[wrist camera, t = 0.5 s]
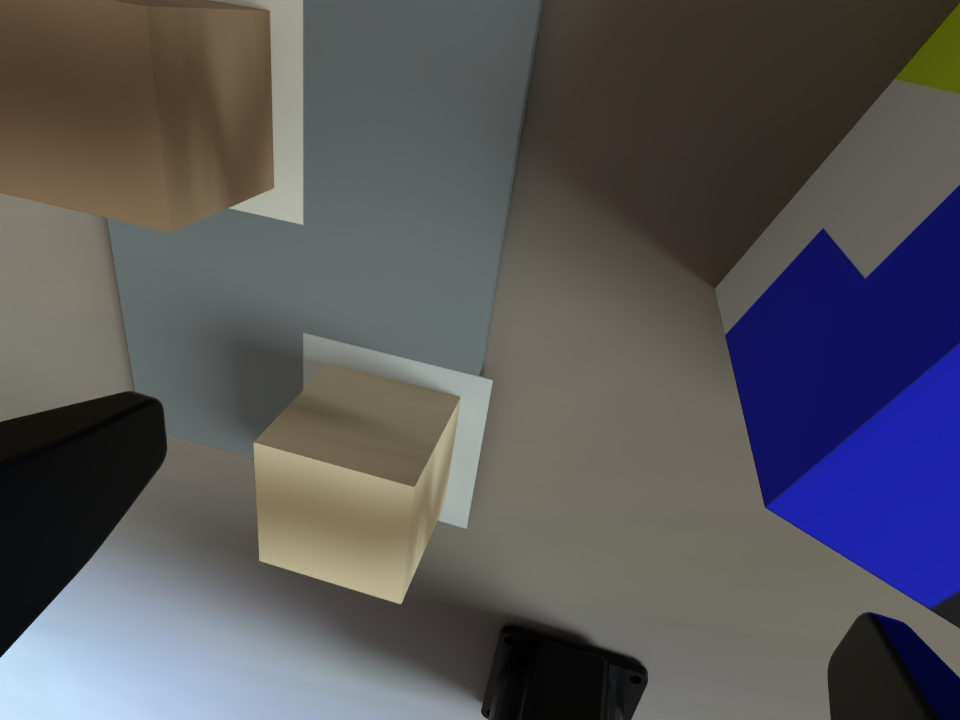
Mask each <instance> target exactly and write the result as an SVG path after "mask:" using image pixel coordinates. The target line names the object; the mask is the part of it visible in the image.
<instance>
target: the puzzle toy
mask: <svg viewBox="0 0 960 720" xmlns="http://www.w3.org/2000/svg"><path fill="white" fill-rule="evenodd" d="M715 293H716V298H717V302H718V306H719V311H720V315H721V319H722V324H723V328H724V332H725V337H726V341H727V345H728V350H729V354H730V358H731V363H732V367H733V371H734V376H735V380H736V384H737V389H738V393H739V397H740V402H741V406H742V410H743V415H744V419H745V423H746V427H747V432H748V436H749V440H750V445H751V449H752V453H753V458H754V462H755V466H756V471H757V475H758V479H759V484H760V488H761V492H762V497H763V501H764V505H765V508H767V509H768V510H770V511H771V512H773V513H775V514H776V515H778V516H780V517H781V518H783V519H784V520H786V521H788V522H789V523H791V524H792V525H794V526H796V527H797V528H799V529H800V530H802V531H804V532H805V533H807V534H809V535H810V536H812V537H813V538H815V539H817V540H818V541H820V542H821V543H823V544H825V545H826V546H828V547H829V548H831V549H833V550H834V551H836V552H838V553H839V554H841V555H842V556H844V557H846V558H847V559H849V560H850V561H852V562H854V563H855V564H857V565H858V566H860V567H862V568H863V569H865V570H867V571H868V572H870V573H871V574H873V575H875V576H876V577H878V578H879V579H881V580H883V581H884V582H886V583H887V584H889V585H891V586H892V587H894V588H896V589H897V590H899V591H900V592H902V593H904V594H905V595H907V596H908V597H910V598H912V599H913V600H915V601H916V602H918V603H920V604H921V605H923V606H925V607H926V608H928V609H929V610H931V611H933V612H934V613H936V614H937V615H939V616H941V617H942V618H944V619H945V620H947V621H949V622H950V623H952V624H954V625H955V626H957V627H958V628H960V3H959V4H958V6H957V7H956V8H955V9H954V10H953V11H952V13H951V14H950V15H949V16H948V17H947V18H946V20H945V21H944V22H943V23H942V24H941V25H940V27H939V28H938V29H937V30H936V31H935V32H934V34H933V35H932V36H931V37H930V38H929V39H928V41H927V42H926V43H925V44H924V45H923V46H922V48H921V49H920V50H919V51H918V52H917V53H916V55H915V56H914V57H913V58H912V59H911V60H910V62H909V63H908V64H907V65H906V66H905V67H904V69H903V70H902V71H901V72H900V73H899V74H898V76H897V77H896V78H895V79H894V80H893V81H892V83H891V84H890V85H889V86H888V87H887V88H886V90H885V91H884V92H883V93H882V94H881V95H880V97H879V98H878V99H877V100H876V101H875V102H874V104H873V105H872V106H871V107H870V108H869V109H868V111H867V112H866V113H865V114H864V115H863V116H862V118H861V119H860V120H859V121H858V122H857V123H856V125H855V126H854V127H853V128H852V129H851V130H850V132H849V133H848V134H847V135H846V136H845V137H844V139H843V140H842V141H841V142H840V143H839V144H838V146H837V147H836V148H835V149H834V150H833V151H832V153H831V154H830V155H829V156H828V157H827V158H826V160H825V161H824V162H823V163H822V164H821V165H820V167H819V168H818V169H817V170H816V171H815V172H814V174H813V175H812V176H811V177H810V178H809V179H808V181H807V182H806V183H805V184H804V185H803V187H802V188H801V189H800V190H799V191H798V192H797V194H796V195H795V196H794V197H793V198H792V199H791V201H790V202H789V203H788V204H787V205H786V206H785V208H784V209H783V210H782V211H781V212H780V213H779V215H778V216H777V217H776V218H775V219H774V220H773V222H772V223H771V224H770V225H769V226H768V227H767V229H766V230H765V231H764V232H763V233H762V234H761V236H760V237H759V238H758V239H757V240H756V241H755V243H754V244H753V245H752V246H751V247H750V248H749V250H748V251H747V252H746V253H745V254H744V255H743V257H742V258H741V259H740V260H739V261H738V262H737V264H736V265H735V266H734V267H733V268H732V269H731V271H730V272H729V273H728V274H727V275H726V276H725V278H724V279H723V280H722V281H721V282H720V283H719V285H718V286H717V287H716V288H715Z"/></svg>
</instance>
